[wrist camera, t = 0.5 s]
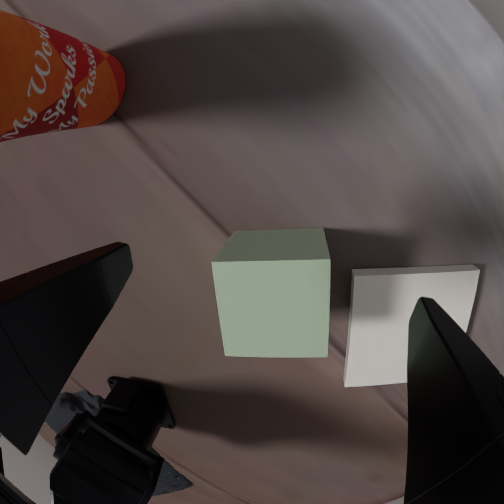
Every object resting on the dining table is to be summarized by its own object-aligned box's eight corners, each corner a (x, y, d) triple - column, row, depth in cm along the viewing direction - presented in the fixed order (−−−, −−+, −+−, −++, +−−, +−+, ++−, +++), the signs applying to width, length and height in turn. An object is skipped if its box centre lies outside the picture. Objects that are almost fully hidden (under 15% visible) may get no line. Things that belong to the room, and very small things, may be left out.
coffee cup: (121, 151, 21) (-61, 188, 7) (48, 130, 21) (-104, 154, 7) (155, 43, 18) (-9, -28, 4) (75, 37, 18) (-72, 6, 4)
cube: (322, 306, 23) (327, 357, 17) (242, 307, 24) (225, 355, 18) (323, 227, 21) (330, 259, 15) (234, 230, 22) (211, 261, 16)
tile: (448, 367, 23) (452, 375, 22) (343, 377, 25) (344, 387, 23) (473, 264, 20) (479, 270, 19) (351, 269, 21) (354, 276, 20)
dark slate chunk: (133, 484, 40) (124, 504, 36) (40, 396, 35) (24, 415, 31) (201, 484, 36) (193, 509, 31) (91, 380, 31) (71, 406, 26)
